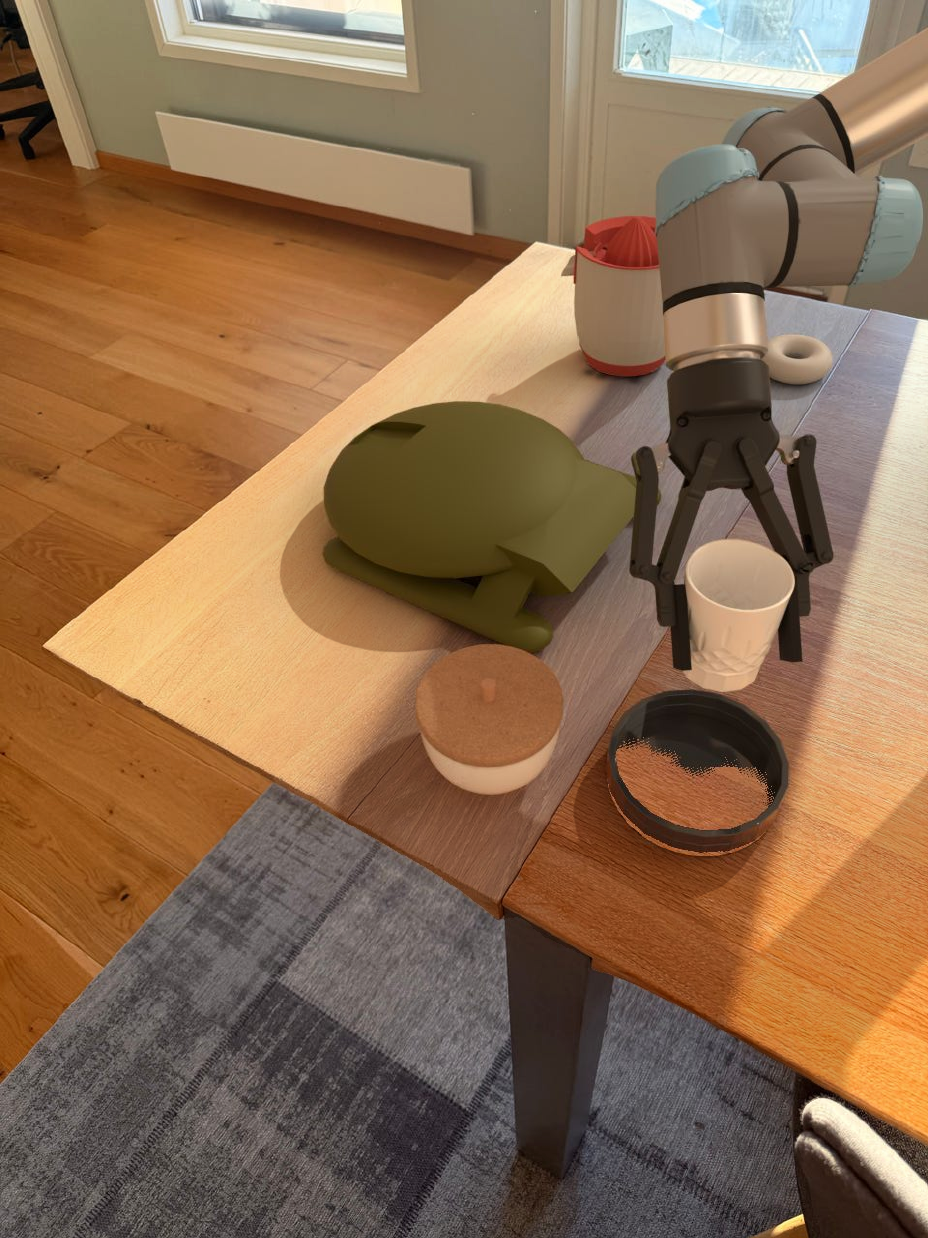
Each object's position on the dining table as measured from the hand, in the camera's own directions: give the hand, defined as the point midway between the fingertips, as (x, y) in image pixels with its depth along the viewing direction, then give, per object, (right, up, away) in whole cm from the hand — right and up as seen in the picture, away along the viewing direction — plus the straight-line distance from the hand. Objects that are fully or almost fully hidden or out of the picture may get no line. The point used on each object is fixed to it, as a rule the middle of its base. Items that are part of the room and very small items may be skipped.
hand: (736, 664), depth 70 cm
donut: (+25, +38, +57) cm, 73 cm away
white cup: (0, 0, +5) cm, 5 cm away
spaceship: (-20, +15, +37) cm, 45 cm away
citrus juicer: (+1, +41, +61) cm, 74 cm away
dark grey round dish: (-1, -11, +11) cm, 16 cm away
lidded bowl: (-18, -10, +14) cm, 25 cm away
